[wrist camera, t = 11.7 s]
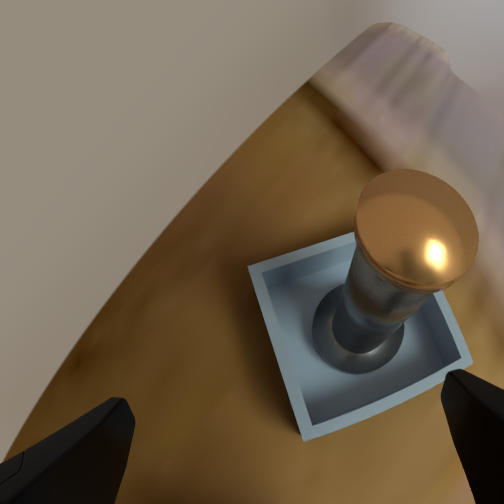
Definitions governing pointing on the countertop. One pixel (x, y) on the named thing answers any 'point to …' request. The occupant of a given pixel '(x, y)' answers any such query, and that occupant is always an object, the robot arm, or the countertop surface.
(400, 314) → the pin
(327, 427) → the pin tray
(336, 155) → the countertop surface
